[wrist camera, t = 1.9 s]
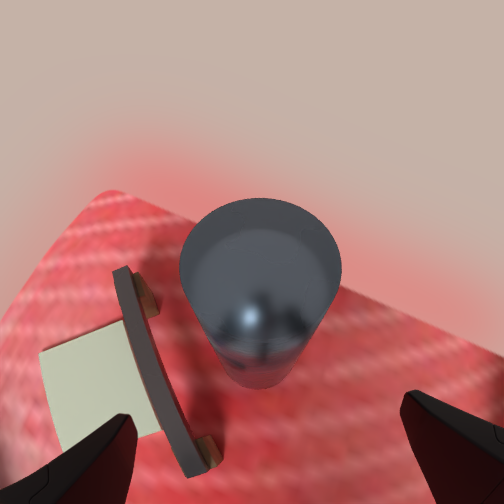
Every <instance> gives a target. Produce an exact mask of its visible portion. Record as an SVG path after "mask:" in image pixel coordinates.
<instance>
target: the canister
mask: <svg viewBox="0 0 504 504" xmlns="http://www.w3.org/2000/svg"><path fill="white" fill-rule="evenodd" d="M179 273H180V279H181V284H182V287H183V290H184V292H185V295H186V297H187V299H188V301H189V303H190V305H191V307H192V309H193V311H194V313H195V315H196V317H197V319H198V321H199V322H200V324H201V326H202V328H203V330H204V332H205V334H206V336H207V338H208V340H209V342H210V343H211V345H212V347H213V349H214V351H215V353H216V355H217V356H218V358H219V360H220V362H221V364H222V365H223V367H224V369H225V371H226V373H227V374H228V375H229V377H230V378H231V379H232V380H233V381H235V382H236V383H237V384H239V385H241V386H243V387H246V388H250V389H266V388H270V387H272V386H275V385H276V384H278V383H280V382H281V381H282V380H283V379H284V378H285V377H286V376H287V375H288V373H289V372H290V370H291V369H292V367H293V366H294V364H295V363H296V361H297V360H298V358H299V356H300V355H301V353H302V352H303V350H304V348H305V347H306V345H307V344H308V342H309V340H310V339H311V337H312V335H313V334H314V332H315V331H316V329H317V327H318V325H319V324H320V322H321V320H322V319H323V317H324V315H325V314H326V312H327V310H328V308H329V307H330V305H331V303H332V301H333V300H334V298H335V295H336V293H337V291H338V288H339V285H340V281H341V273H342V269H341V258H340V253H339V250H338V247H337V244H336V242H335V240H334V238H333V236H332V235H331V233H330V232H329V230H328V229H327V228H326V227H325V226H324V224H323V223H322V222H321V221H320V220H318V219H317V218H316V217H315V216H314V215H312V214H311V213H309V212H307V211H306V210H304V209H302V208H301V207H298V206H296V205H294V204H291V203H288V202H285V201H281V200H276V199H268V198H251V199H244V200H239V201H235V202H232V203H229V204H226V205H224V206H221V207H219V208H217V209H216V210H214V211H212V212H211V213H209V214H208V215H207V216H205V217H204V218H203V219H202V220H201V221H200V222H199V223H198V224H197V225H196V226H195V227H194V228H193V229H192V231H191V232H190V234H189V235H188V237H187V239H186V241H185V243H184V245H183V249H182V252H181V256H180V263H179Z"/></svg>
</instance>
